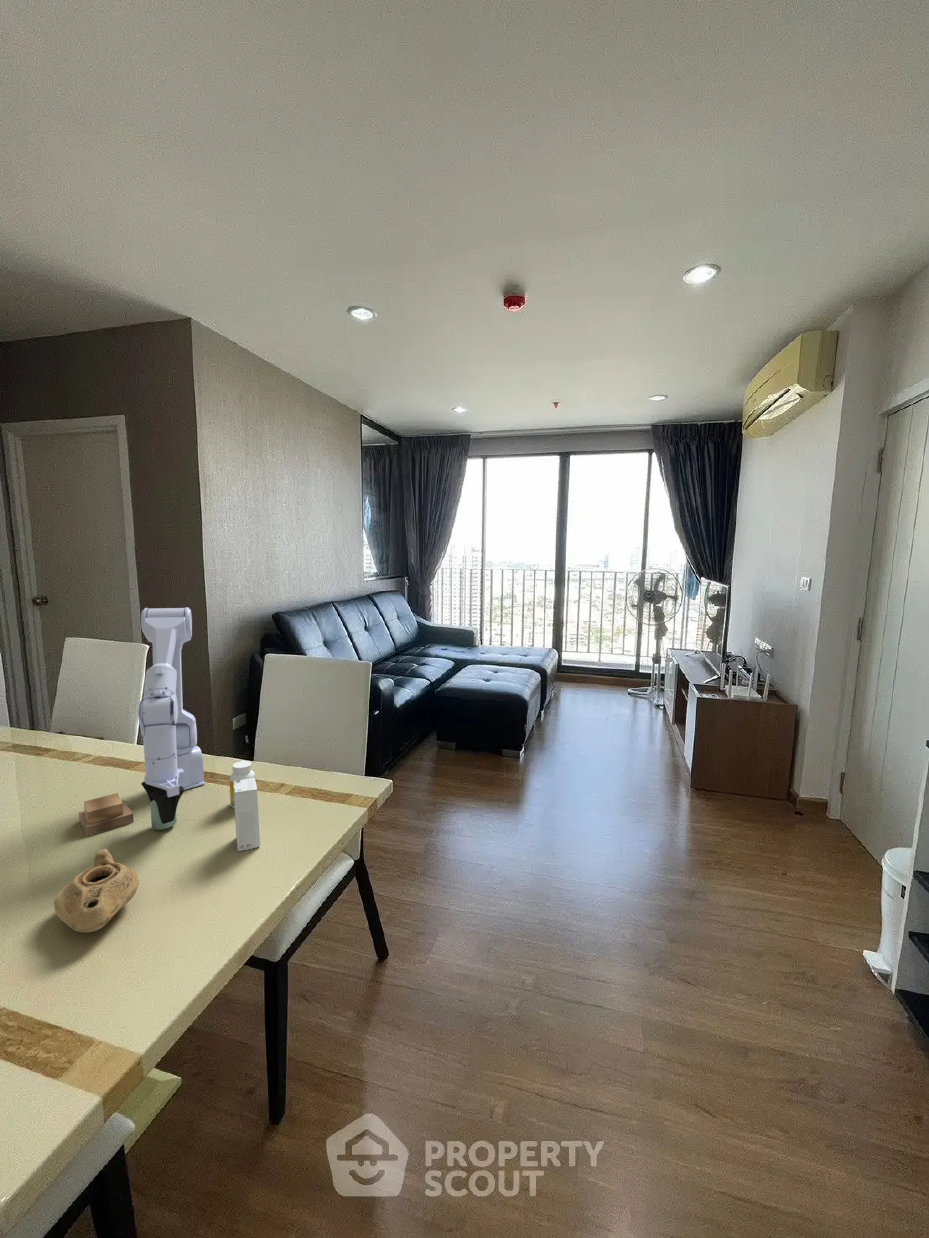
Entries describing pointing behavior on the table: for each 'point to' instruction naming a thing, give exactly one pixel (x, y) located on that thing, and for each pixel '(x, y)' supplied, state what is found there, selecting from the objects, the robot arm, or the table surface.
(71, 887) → the oil lamp
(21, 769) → the table surface
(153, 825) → the green cylinder
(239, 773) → the supplement bottle
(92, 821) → the top block
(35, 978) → the table surface
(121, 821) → the base block
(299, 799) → the table surface
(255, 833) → the skincare box
